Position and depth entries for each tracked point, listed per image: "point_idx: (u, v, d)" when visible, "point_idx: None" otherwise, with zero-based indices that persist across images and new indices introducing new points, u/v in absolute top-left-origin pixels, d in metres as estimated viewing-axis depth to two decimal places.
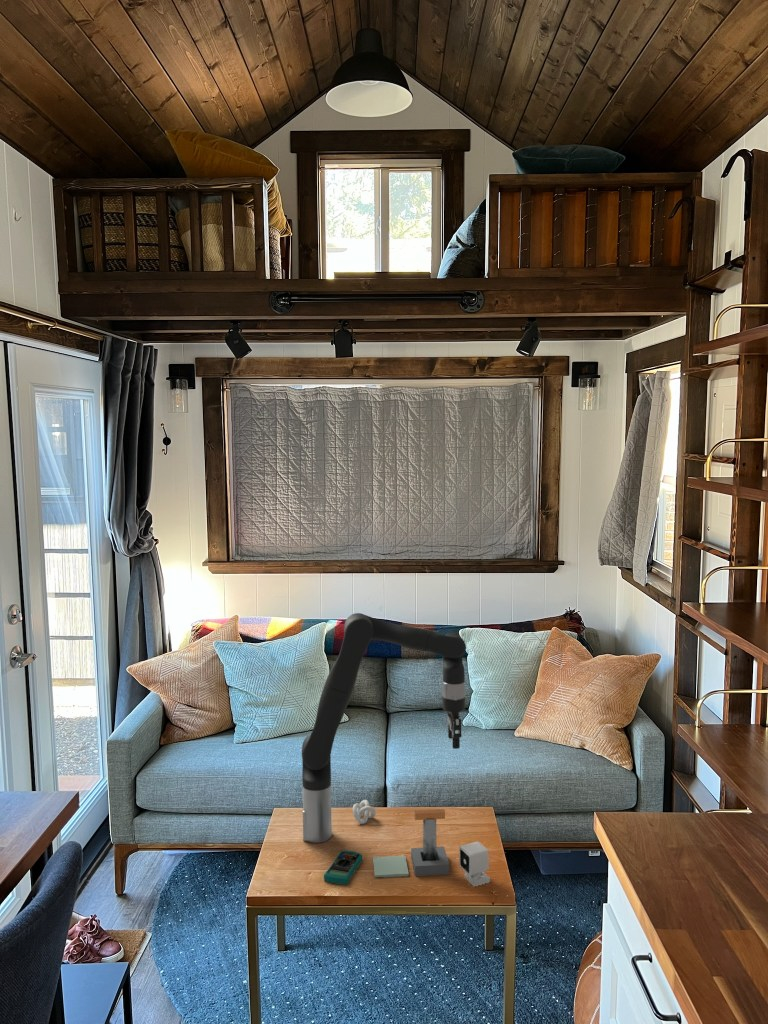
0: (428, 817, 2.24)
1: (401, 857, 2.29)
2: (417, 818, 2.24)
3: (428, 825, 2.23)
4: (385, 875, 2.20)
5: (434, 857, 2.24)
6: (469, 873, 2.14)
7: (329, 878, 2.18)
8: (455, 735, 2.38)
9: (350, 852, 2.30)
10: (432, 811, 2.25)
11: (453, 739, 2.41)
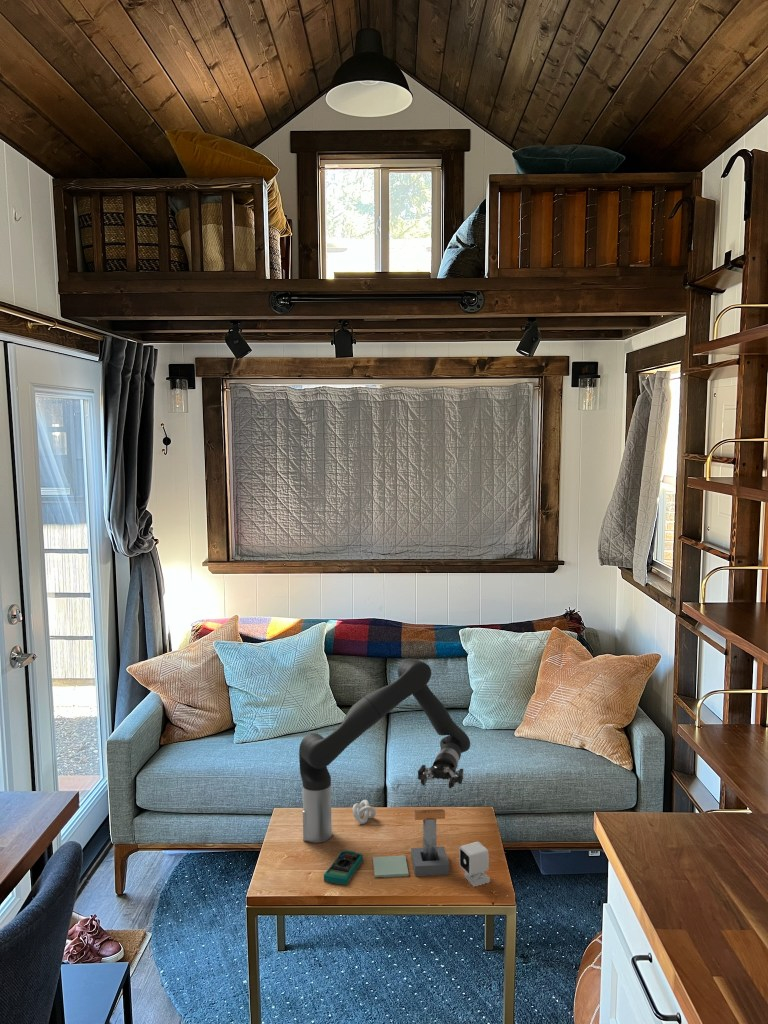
0: (428, 817, 2.24)
1: (401, 857, 2.29)
2: (417, 818, 2.24)
3: (428, 825, 2.23)
4: (385, 875, 2.20)
5: (434, 857, 2.24)
6: (469, 873, 2.14)
7: (328, 878, 2.18)
8: None
9: (351, 852, 2.30)
10: (432, 811, 2.25)
11: (452, 778, 2.36)
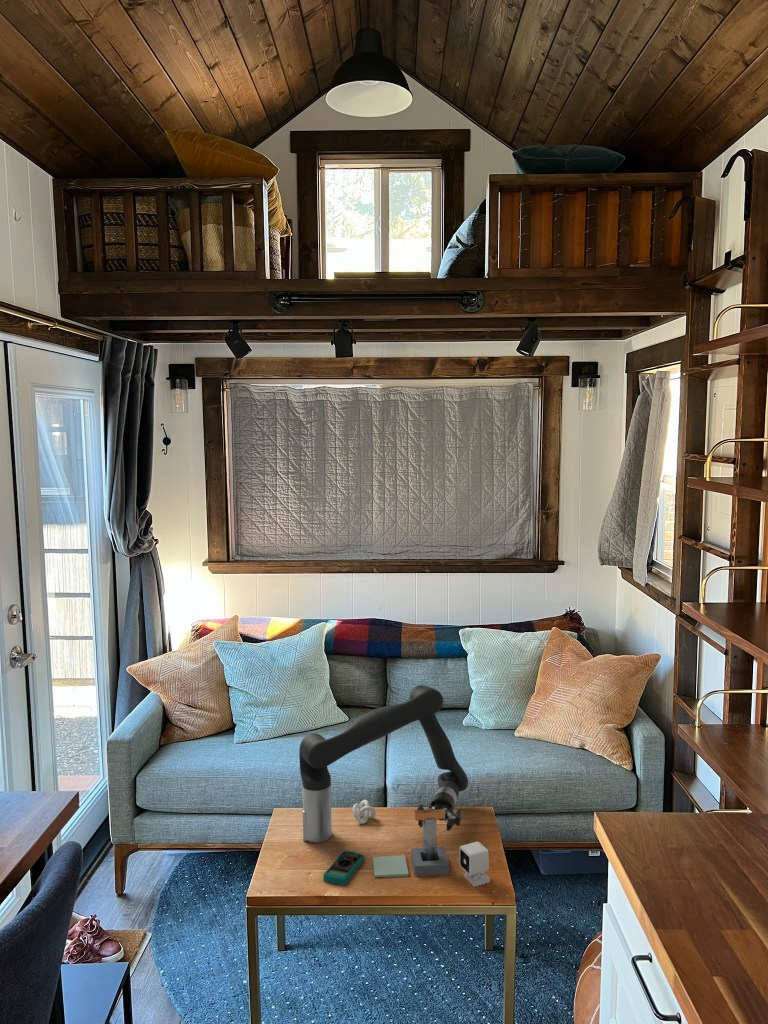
0: (428, 817, 2.24)
1: (401, 857, 2.29)
2: (417, 818, 2.24)
3: (428, 825, 2.23)
4: (385, 875, 2.20)
5: (434, 857, 2.24)
6: (469, 873, 2.14)
7: (328, 878, 2.18)
8: None
9: (352, 852, 2.30)
10: (432, 811, 2.25)
11: (450, 820, 2.34)
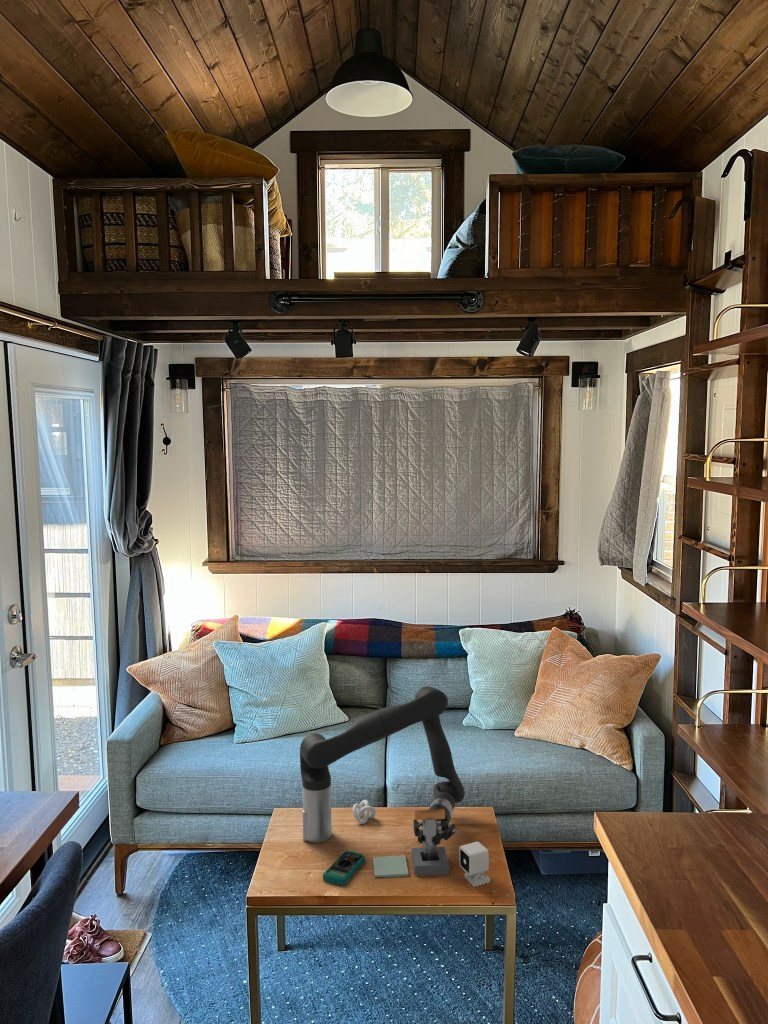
0: (428, 817, 2.24)
1: (401, 857, 2.29)
2: (417, 818, 2.24)
3: (428, 825, 2.23)
4: (385, 875, 2.20)
5: (434, 857, 2.24)
6: (469, 873, 2.14)
7: (327, 878, 2.18)
8: (447, 833, 2.26)
9: (353, 853, 2.29)
10: (432, 811, 2.25)
11: (438, 834, 2.25)
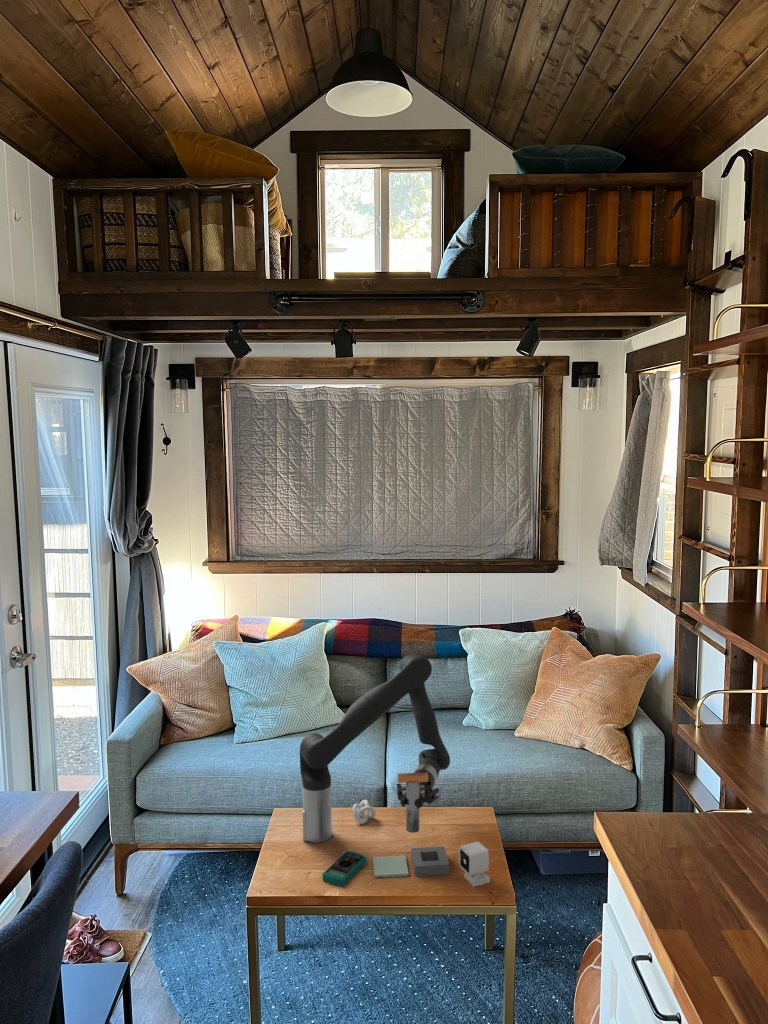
0: (411, 780, 2.22)
1: (401, 857, 2.29)
2: (400, 781, 2.22)
3: (411, 788, 2.22)
4: (385, 875, 2.20)
5: (417, 820, 2.23)
6: (469, 873, 2.14)
7: (327, 877, 2.18)
8: (431, 796, 2.25)
9: (354, 853, 2.29)
10: (415, 774, 2.23)
11: (421, 798, 2.23)
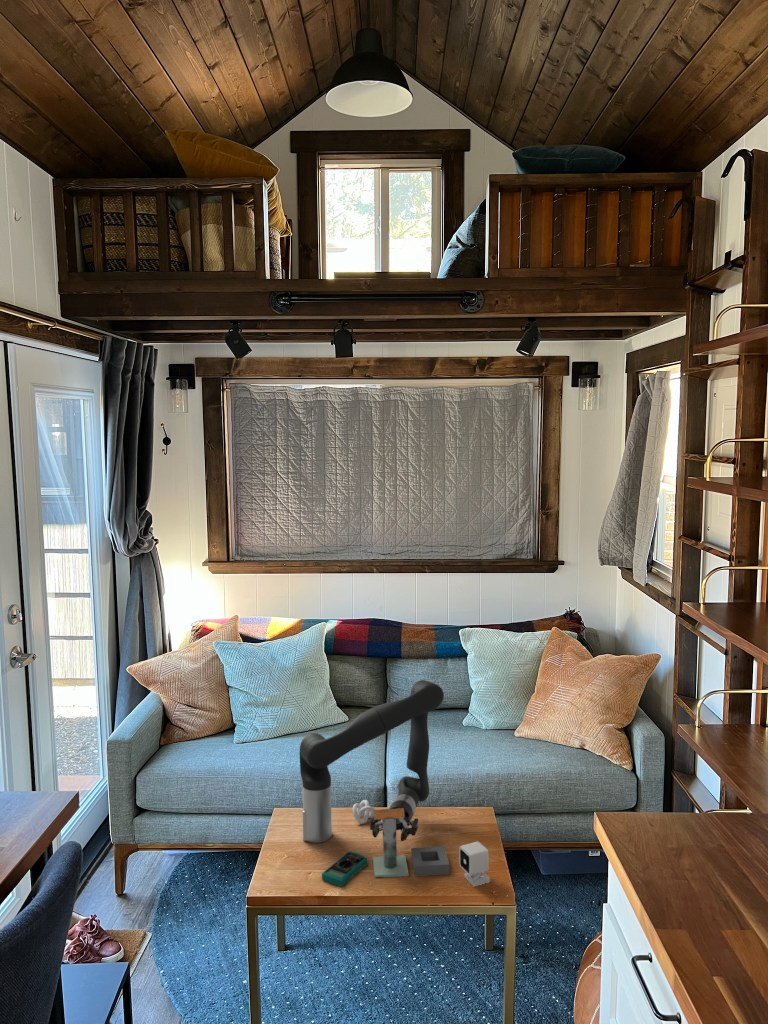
0: (387, 816, 2.23)
1: (401, 857, 2.29)
2: (376, 818, 2.22)
3: (387, 824, 2.22)
4: (385, 875, 2.20)
5: (394, 856, 2.23)
6: (469, 873, 2.14)
7: (326, 877, 2.18)
8: None
9: (356, 854, 2.29)
10: (391, 810, 2.24)
11: (405, 830, 2.24)
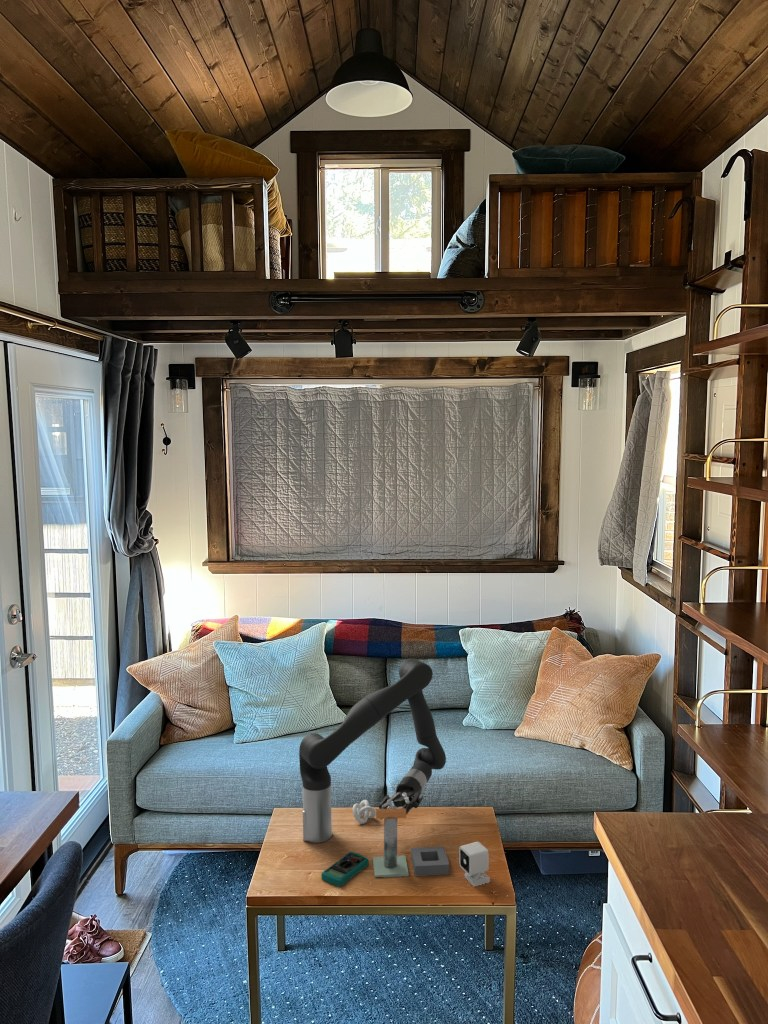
0: (389, 816, 2.23)
1: (401, 857, 2.29)
2: (378, 817, 2.23)
3: (389, 824, 2.22)
4: (385, 875, 2.20)
5: (394, 856, 2.23)
6: (469, 873, 2.14)
7: (325, 877, 2.18)
8: (415, 801, 2.35)
9: (357, 855, 2.28)
10: (393, 810, 2.24)
11: (406, 805, 2.34)
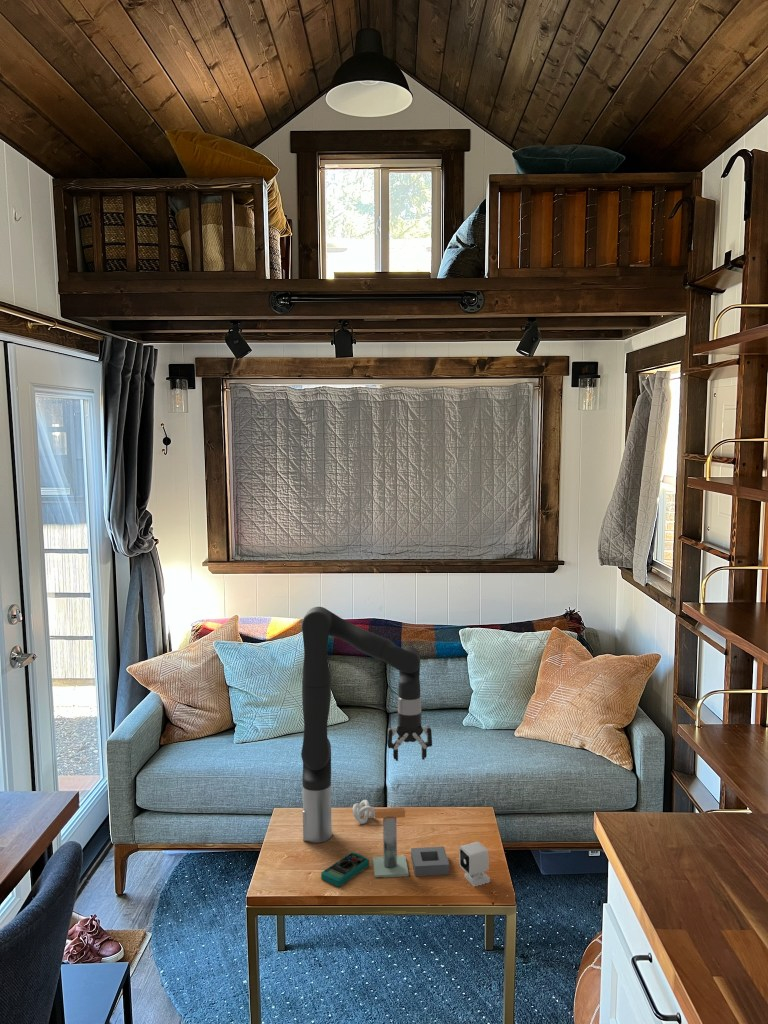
0: (388, 815, 2.23)
1: (401, 857, 2.29)
2: (377, 817, 2.23)
3: (388, 824, 2.22)
4: (385, 875, 2.20)
5: (394, 856, 2.23)
6: (469, 873, 2.14)
7: (324, 877, 2.18)
8: (387, 743, 2.40)
9: (358, 855, 2.28)
10: (392, 810, 2.24)
11: None
